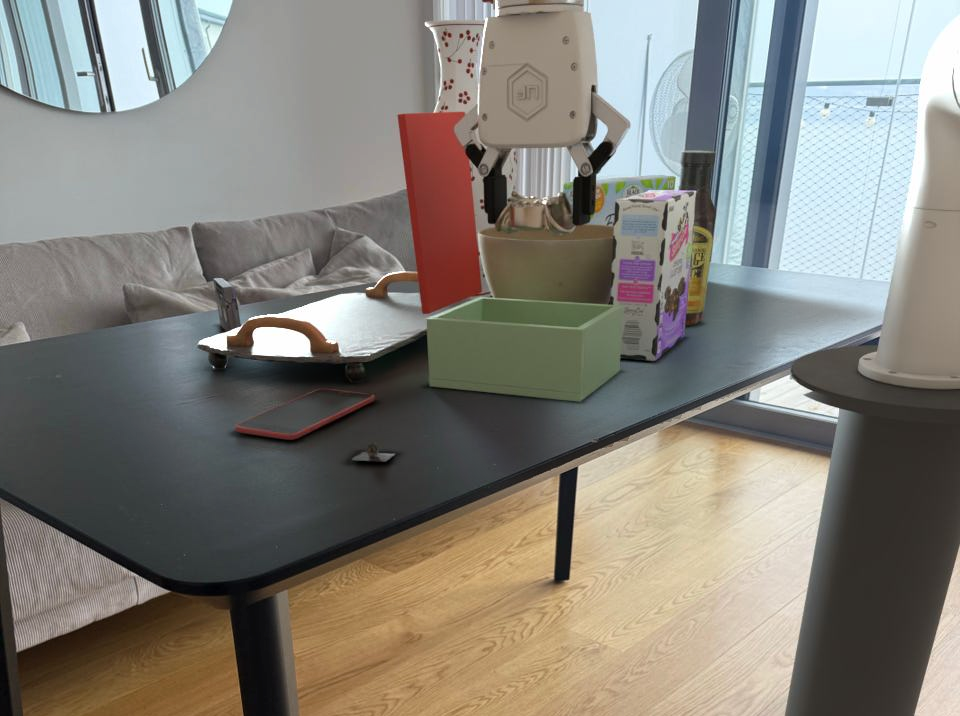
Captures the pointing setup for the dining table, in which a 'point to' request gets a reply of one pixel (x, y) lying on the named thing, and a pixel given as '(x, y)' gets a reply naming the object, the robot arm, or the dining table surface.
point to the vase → (466, 103)
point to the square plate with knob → (373, 454)
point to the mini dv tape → (226, 304)
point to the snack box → (619, 193)
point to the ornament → (537, 214)
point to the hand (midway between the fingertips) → (538, 222)
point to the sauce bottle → (698, 227)
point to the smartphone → (304, 414)
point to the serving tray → (330, 330)
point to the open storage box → (525, 347)
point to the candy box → (652, 269)
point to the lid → (440, 208)
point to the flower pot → (549, 264)
